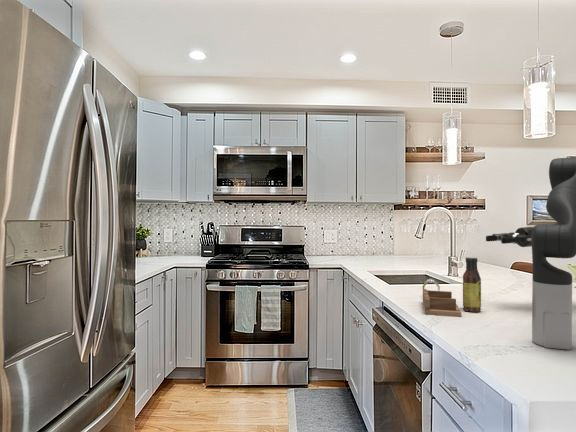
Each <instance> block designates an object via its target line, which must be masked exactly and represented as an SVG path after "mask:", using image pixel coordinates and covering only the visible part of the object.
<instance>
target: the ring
mask: <svg viewBox="0 0 576 432" xmlns="http://www.w3.org/2000/svg"><path fill="white" fill-rule="evenodd" d="M431 283H432V284H434V285H436V286H437V291H441V287H440V285H439V283H438V282H437V281H436V280H435V279H434V278H429V279H428V278H427V279H426V280H425V281H424V283H423V285H422V290H423V289H425V287H426V286H427V285H428V284H431Z"/></svg>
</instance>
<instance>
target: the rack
mask: <svg viewBox="0 0 576 432" xmlns="http://www.w3.org/2000/svg"><path fill="white" fill-rule="evenodd" d="M452 294H453V293H452V291H446V290H445V291H443V290H440V291H438V290H428V289H427V288H424V289H423V288H422V306H423V310H424V314H425V315H430V316H441V317H442V316H444V317H458V318H459V317H460V318H462V311H461V309H460V308H459V306H458V304H457V299H456V298H452V297H453V296H452Z"/></svg>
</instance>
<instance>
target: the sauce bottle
mask: <svg viewBox="0 0 576 432" xmlns="http://www.w3.org/2000/svg"><path fill="white" fill-rule="evenodd" d="M465 263H466V264H465V269H466V270H465V271H464V273H463V275H462V306H463V307H462V308H463V310H464V311H466V312H468V313H478V312H481V310H482V279H481V276H480V273H479V270H478V257H473V256H472V257H470V256H469V257H465Z"/></svg>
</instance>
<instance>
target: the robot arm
mask: <svg viewBox="0 0 576 432" xmlns="http://www.w3.org/2000/svg"><path fill="white" fill-rule="evenodd" d="M548 176H549V177H548V178H549V184H550V187H551V191H550V192H549V193H548V195H547V196H548V197H547V200H546V205H545V208H546V211H547V213H548V215H549V216H550V217H551V218H552V219H553V220H554V221H555V222H556V223H553V224H545V223H544V224H536V225H534V226H524V227H519V228H517V229H516V230H515V232H511V231H510V232H504V233H503V232H501V233H493V234H492V235H490V234H489V235H486V236H485V242H500V243H501V245H502V244H505V245H506V244H514V245H515V244H516V245H517V246H519V247H522V248H526V247H527V248H528V247H529V248H530V247H531V255H532V257H531V258H532V284H531V285H532V286H531V287H532V292H531V293H532V294H531V295H532V296H531V298H532V299H531V300H532V301H531V302H532V303H531V304H532V305H531V308H532V309H531V315H532V316H531V317H532V318H531V329H532V330H531V340H532V342H533V343H534V344H536V345H539V346H541V347H543V348H547V349H558V350H572V347H573V344H572V343H573V275H572V273H571V272H569V271H566V270H564V269H561V268H558V267H556V266H554V265H553V264H551V263H550V262H549V261H548V260H547V258H552V259H573V258H574V257H576V157H575V156H574V157H558V158H557V157H556V158H553V159H552V160H551V161H550V163H549V168H548Z"/></svg>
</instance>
